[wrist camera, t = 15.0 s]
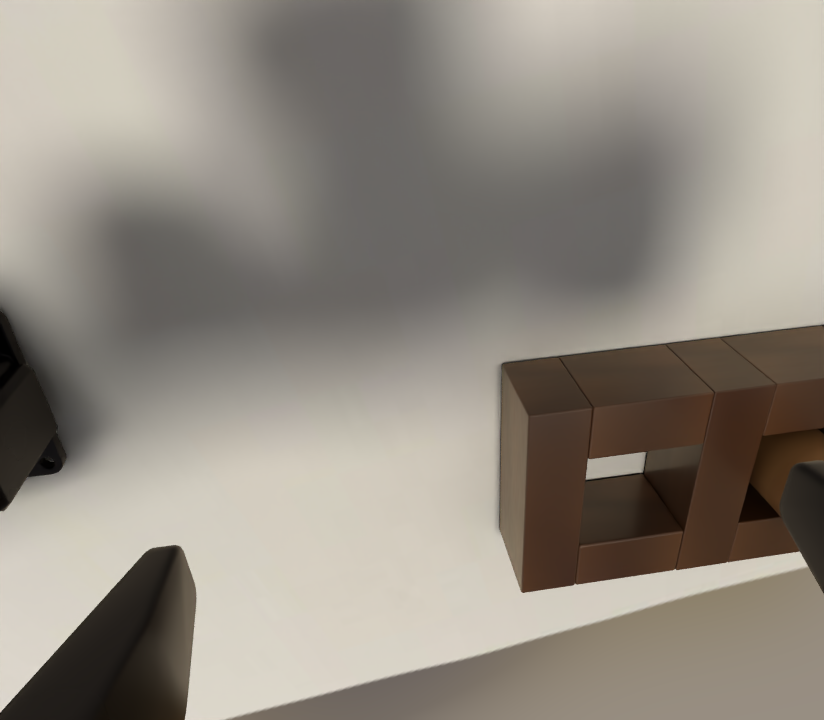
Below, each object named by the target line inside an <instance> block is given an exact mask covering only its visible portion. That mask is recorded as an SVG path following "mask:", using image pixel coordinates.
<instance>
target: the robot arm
mask: <svg viewBox="0 0 824 720" xmlns="http://www.w3.org/2000/svg"><path fill="white" fill-rule="evenodd" d="M57 429H58V426H57V424H56V421H55V419H54V417H53V414H52V412H51V410H50V407H49V405H48V403H47V400H46V398H45V396H44V393H43V391H42V389H41V386H40V384H39V382H38V379H37V377H36V375H35V372H34V370H33V369H32V368H31V367H30V366H28V365H27V364H26V361H25V359H24V357H23V354H22V352H21V350H20V347H19V345H18V343H17V341H16V338H15V336H14V334H13V331H12V329H11V327H10V324H9V322H8V320H7V318H6V316H5V315H4V313H2V312H1V311H0V511H4V510H5V509H6V508H7V507H8V506H9V505H10V503H11V502H12V500H13V499H14V497H15V495H16V494H17V492H18V491H19V489H20V488H21V486H22V484H23V483H24V481H25V480H26V478H27V477H32V476H40V475H48V474H54V473H57V472H59V471H60V470H61V469H62V467H63V465H64V463H65V461H66V459H67V458H66V454H65V451H64V449H63V447H62V444H61V442H60V440H59V437H58V435H57V433H56V431H57ZM45 457H46V458H51V459H53V461H54V462H50V461H48V460H46V459H45ZM779 510H780V515H781V518H782V520H783V522H784V524H785V526H786V528H787V529H788V531H789V533H790V535H791V537H792V538H793V540H794V542H795V544H796V545H797V547H798V549H799V551H800V552H801V554H802V556H803V558H804V559H805V561H806V563H807V565H808V567H809V568H810V570H811V572H812V574H813V575H814V577H815V579H816V581H817V582H818V584H819V586H820V588H821V589H822V591H823V593H824V461H823V460H816V461H808V462H801V463H797V464H795V465H794V466H793V467H792V468H791V469H790V471H789V475H788V478H787V481H786V484H785V487H784V490H783V493H782V496H781V499H780V503H779ZM195 611H196V587H195V583H194V580H193V577H192V574H191V571H190V568H189V566H188V563H187V560H186V557H185V554H184V551H183V550H182V548H181V547H180V546H177V545H172V546H164V547H157V548H152V549H150V550H148V551H147V552H146V553H144V555H143V556H142V557H141V558H140V559H139V560H138V561H137V562H136V563H135V564H134V566H133V567H132V568H131V569H130V570H129V571H128V572H127V573H126V574H125V576H124V577H123V578H122V579H121V580H120V581H119V582H118V583H117V584H116V585H115V587H114V588H113V589H112V590H111V591H110V592H109V593H108V594H107V595H106V597H105V598H104V599H103V600H102V601H101V602H100V603H99V604H98V605H97V606H96V608H95V609H94V610H93V611H92V612H91V613H90V614H89V615H88V616H87V618H86V619H85V620H84V621H83V622H82V623H81V624H80V625H79V626H78V627H77V629H76V630H75V631H74V632H73V633H72V634H71V635H70V636H69V637H68V639H67V640H66V641H65V642H64V643H63V644H62V645H61V646H60V647H59V648H58V650H57V651H56V652H55V653H54V654H53V655H52V656H51V657H50V658H49V660H48V661H47V662H46V663H45V664H44V665H43V666H42V667H41V668H40V669H39V671H38V672H37V673H36V674H35V675H34V676H33V677H32V678H31V679H30V681H29V682H28V683H27V684H26V685H25V686H24V687H23V688H22V689H21V690H20V692H19V693H18V694H17V695H16V696H15V697H14V698H13V699H12V700H11V702H10V703H9V704H8V705H7V706H6V707H5V708H4V709H3V710H2V711H1V713H0V720H185V714H186V707H187V698H188V688H189V677H190V666H191V655H192V644H193V633H194V622H195Z"/></svg>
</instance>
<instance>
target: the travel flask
mask: <svg viewBox="0 0 824 720" xmlns="http://www.w3.org/2000/svg"><path fill="white" fill-rule="evenodd" d="M816 460H823V461H824V434H823V433H822V432H821V431H820V430H818V429H812V430H805V431H797V432H790V433H782V434H775V435H767V436H762V438H761V442H760V445H759V449H758V452H757V456H756V460H755V463H754V467H753V470H752V474H751V478H750V481H749V482H750V484H751V485H752V486H753V487H754V488H755V489H756V490H757V491H758V492H759V493H760V495H761V496H762V497H763V498H764V499H765V500H766V501H767V502H768V503H769V504H770V506H771V507H772V508H773V509H774V510H775V511H776V512H777V513H778V514H779V515H780V510H779V503H780V499H781V496H782V493H783V490H784V487H785V484H786V481H787V478H788V475H789V471H790V469H791V468H792V467H793V466H794V465H795V464H797V463H801V462H808V461H816ZM780 517H781V515H780Z"/></svg>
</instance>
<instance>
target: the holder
mask: <svg viewBox="0 0 824 720" xmlns="http://www.w3.org/2000/svg"><path fill="white" fill-rule="evenodd" d="M812 429H818V430H820V431H821V432H822V433H823V434H824V325H823V326H815V327H806V328H798V329H789V330H781V331H773V332H764V333H756V334H747V335H739V336H731V337H722V338H713V339H705V340H697V341H688V342H680V343H671V344H666V345H656V346H647V347H639V348H630V349H622V350H614V351H605V352H597V353H588V354H580V355H572V356H563V357H559V358H557V357H556V358H548V359H539V360H531V361H522V362H514V363H505V364H503V365H502V410H501V482H500V532H501V535H502V537H503V540H504V543H505V546H506V549H507V552H508V555H509V558H510V561H511V564H512V566H513V569H514V572H515V575H516V578H517V581H518V584H519V587H520V590H521V592H522V593H525V592H532V591H538V590H545V589H552V588H558V587H565V586H572V585H574V584H584V583H590V582H597V581H604V580H610V579H617V578H624V577H630V576H637V575H644V574H650V573H657V572H664V571H670V570H674V569H676V570H680V569H687V568H694V567H700V566H707V565H714V564H720V563H726V562H727V561H728V562H732V561H739V560H746V559H752V558H759V557H766V556H772V555H779V554H786V553H792V552H799V549H798V547H797V545H796V544H795V542H794V540H793V538H792V537H791V535H790V533H789V531H788V529H787V528H786V526H785V524H784V522H783V520H782V518H781V517H780V515H779V514H778V513H777V512H776V511H775V510H774V509H773V508H772V507H771V506H770V504H769V503H768V502H767V501H766V500H765V499H764V498H763V497H762V496H761V495H760V493H759V492H758V491H757V490H756V489H755V488H754V487H753V486H752V485H751V484H750V482H749V481H750V478H751V474H752V470H753V467H754V463H755V460H756V456H757V452H758V449H759V445H760V442H761V438H762V436H767V435H775V434H782V433H790V432H797V431H805V430H812ZM646 451H648V453H647V459H646V465H645V471H644V475H643V474H638V475H630V476H623V477H616V478H608V479H601V480H594V481H586V482H585V479H586V469H587V460H588V458H589V459H594V458H601V457H609V456H616V455H624V454H631V453H639V452H646Z"/></svg>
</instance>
